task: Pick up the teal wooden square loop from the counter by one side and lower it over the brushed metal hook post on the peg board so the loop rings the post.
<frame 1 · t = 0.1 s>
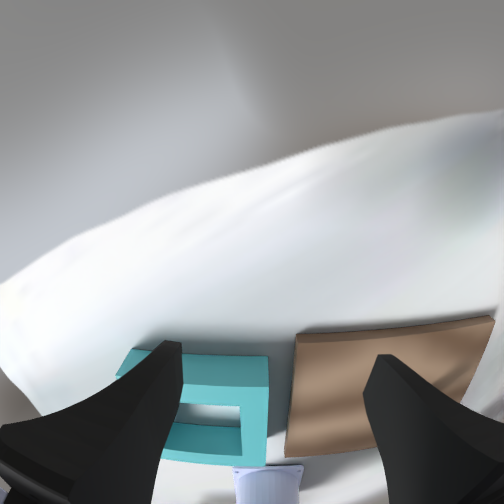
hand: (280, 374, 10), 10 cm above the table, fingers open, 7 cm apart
loop: (203, 402, 23), on the table
peg board: (389, 393, 23), on the table
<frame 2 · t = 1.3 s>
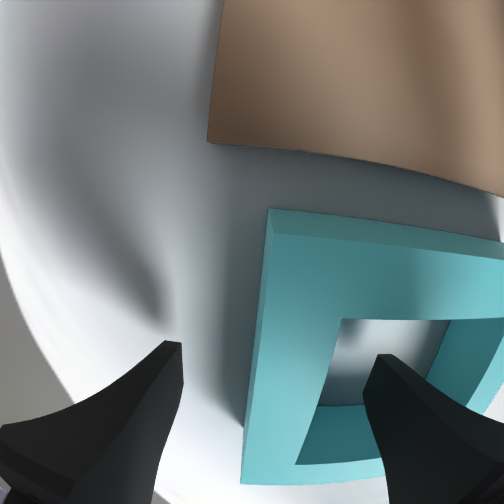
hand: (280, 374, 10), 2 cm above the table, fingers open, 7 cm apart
loop: (379, 350, 12), on the table
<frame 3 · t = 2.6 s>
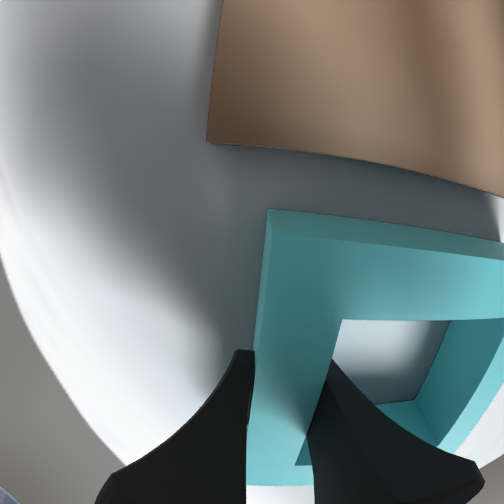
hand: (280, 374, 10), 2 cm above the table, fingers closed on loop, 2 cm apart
loop: (379, 350, 11), on the table, touching gripper
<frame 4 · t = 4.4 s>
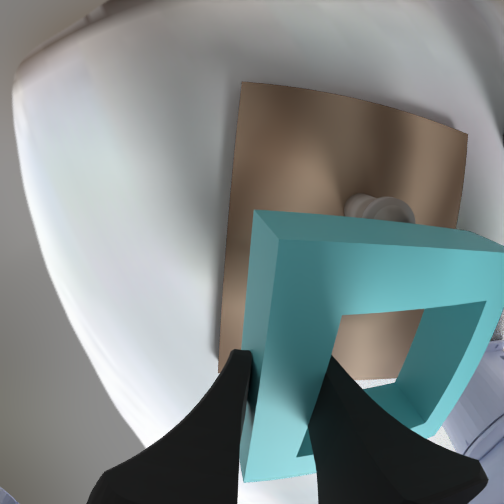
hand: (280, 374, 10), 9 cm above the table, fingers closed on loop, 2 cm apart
loop: (361, 339, 12), point 7 cm above the table, tilted 10°, touching gripper
peg board: (345, 253, 18), on the table
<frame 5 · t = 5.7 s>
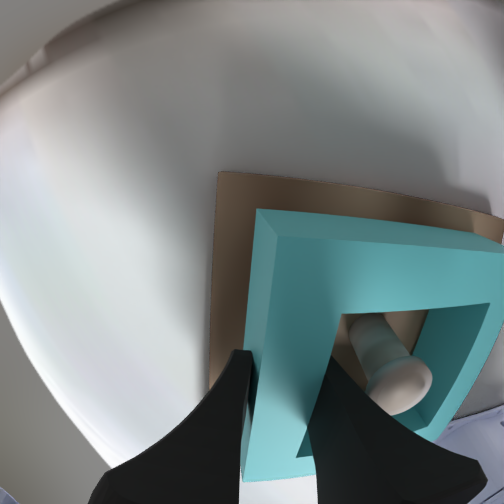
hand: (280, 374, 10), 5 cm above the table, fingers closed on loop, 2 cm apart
loop: (364, 340, 12), point 2 cm above the table, tilted 8°, touching gripper
peg board: (347, 363, 15), on the table
when the fingers open (4 cm above the table, at t = 6.5 s): loop stays where it is, resting on peg board.
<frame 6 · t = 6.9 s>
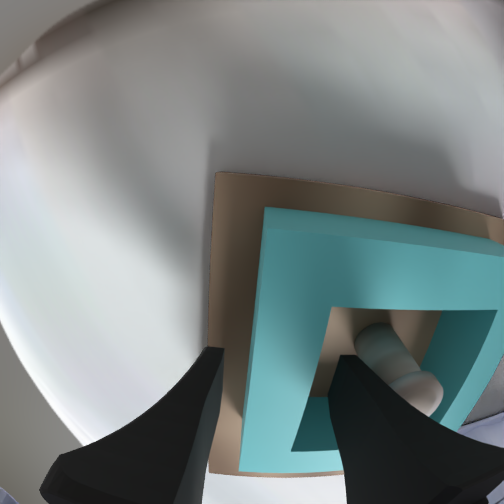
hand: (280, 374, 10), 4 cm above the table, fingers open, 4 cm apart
loop: (371, 342, 12), point 1 cm above the table, touching peg board
peg board: (352, 374, 14), on the table
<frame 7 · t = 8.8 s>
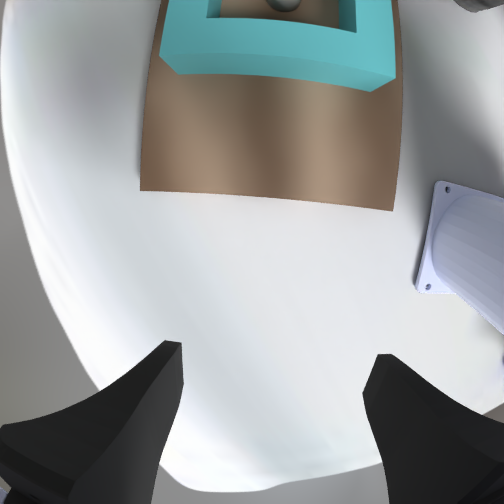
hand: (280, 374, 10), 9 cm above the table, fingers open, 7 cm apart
loop: (281, 0, 12), point 1 cm above the table, touching peg board
peg board: (279, 45, 15), on the table
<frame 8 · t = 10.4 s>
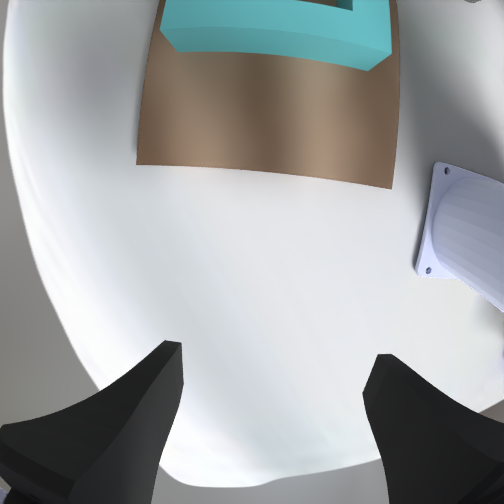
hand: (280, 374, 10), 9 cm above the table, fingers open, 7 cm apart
peg board: (278, 27, 14), on the table
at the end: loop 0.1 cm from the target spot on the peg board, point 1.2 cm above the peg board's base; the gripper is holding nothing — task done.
